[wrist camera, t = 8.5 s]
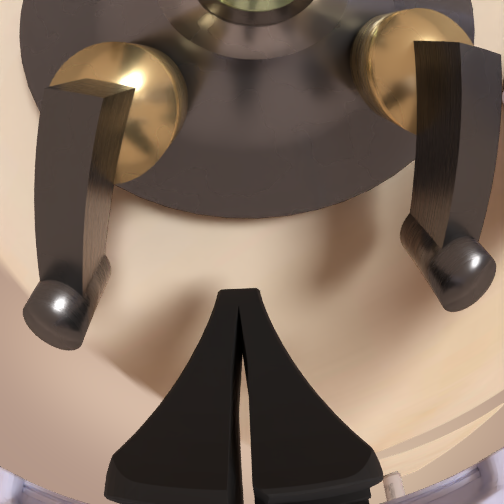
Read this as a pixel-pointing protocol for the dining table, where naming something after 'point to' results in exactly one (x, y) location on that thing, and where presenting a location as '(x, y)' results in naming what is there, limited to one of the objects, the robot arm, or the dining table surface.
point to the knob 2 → (438, 139)
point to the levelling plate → (246, 96)
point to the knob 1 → (93, 172)
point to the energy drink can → (393, 486)
